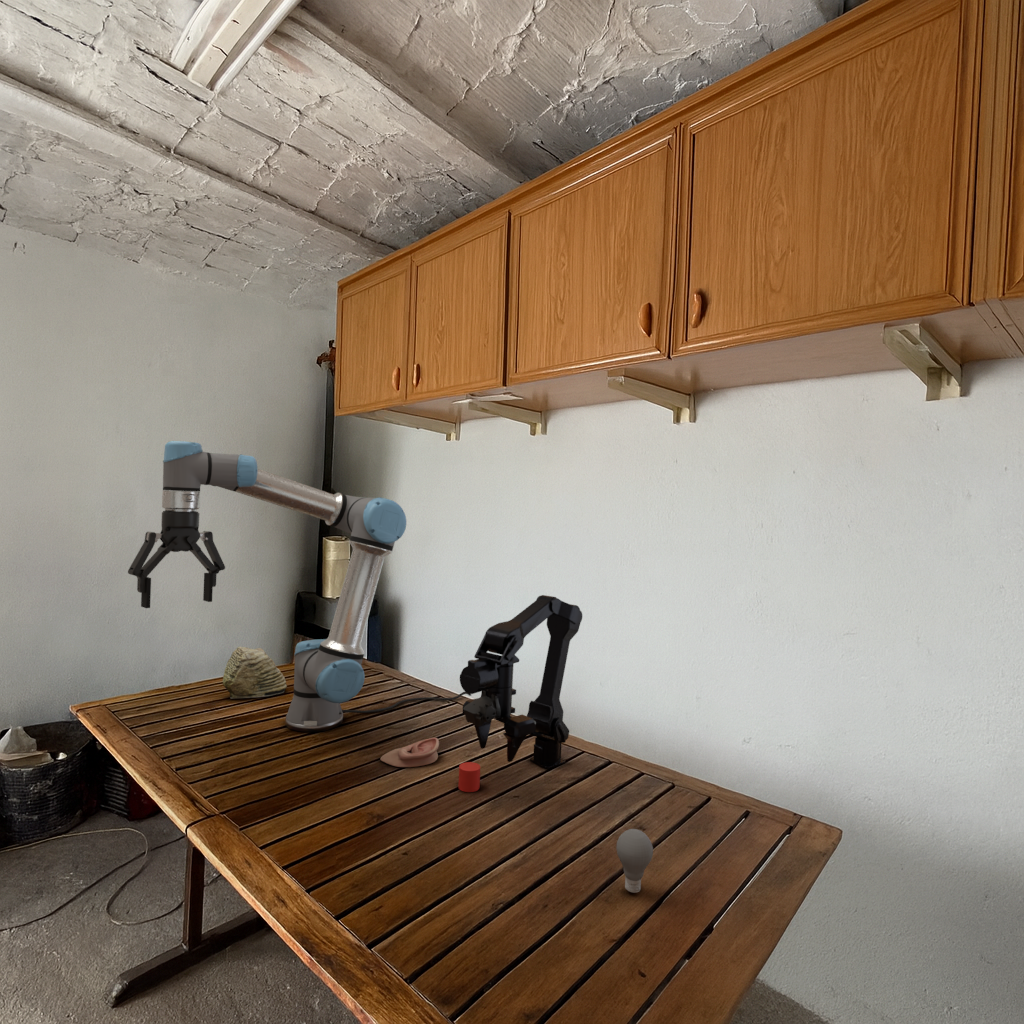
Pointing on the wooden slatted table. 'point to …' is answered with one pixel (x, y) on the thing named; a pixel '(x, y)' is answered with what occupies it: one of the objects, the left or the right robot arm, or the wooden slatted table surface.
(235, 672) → the fossil
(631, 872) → the light bulb
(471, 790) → the canister
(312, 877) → the wooden slatted table surface
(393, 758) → the anatomical model
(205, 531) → the left robot arm
